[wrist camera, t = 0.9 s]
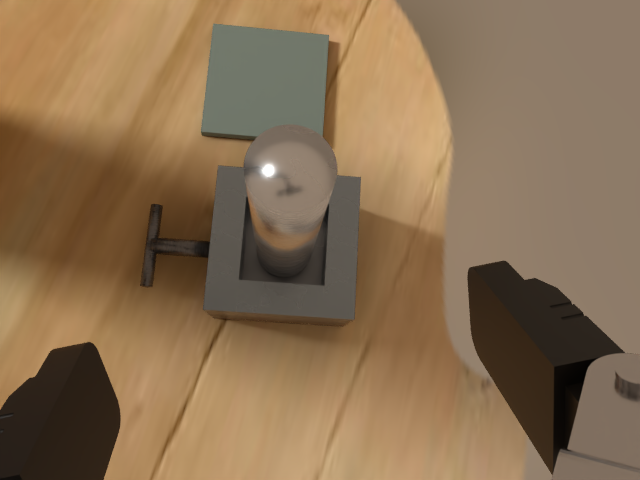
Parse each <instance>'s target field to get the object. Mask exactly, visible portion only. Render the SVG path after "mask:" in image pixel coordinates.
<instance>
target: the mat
mask: <svg viewBox="0 0 640 480" xmlns="http://www.w3.org/2000/svg"><path fill="white" fill-rule="evenodd" d="M328 43H329V35H323V34H313V33H303V32H293V31H282V30H272V29H262V28H252V27H242V26H232V25H222V24H213V32H212V40H211V49H210V58H209V66H208V75H207V84H206V93H205V101H204V110H203V119H202V127H201V133H202V135H204V136H216V137H227V138H239V139H251V140H255V139H256V138H257V137H258V136H259V135H260V134H261V133H263V132H264V131H266V130H268V129H270V128H273V127H275V126H279V125H286V124H293V125H300V126H304V127H307V128H309V129H312V130H313V131H315V132H317V133H318V134H320V135H321V136H322V137H323V124H324V108H325V91H326V75H327V59H328Z"/></svg>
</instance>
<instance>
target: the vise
mask: <svg viewBox="0 0 640 480" xmlns="http://www.w3.org/2000/svg"><path fill="white" fill-rule="evenodd" d="M360 183H361V177H351V176H339V175H337V178H336V181H335V185H334V188H333V191H332V194H331V197H330V200H329V203H328V206H327V209H326V212H325V215H324V218H323V221H322V224H321V227H320V230H319V233H318V236H317V239H316V242H315V245H314V248H313V251H312V254H311V257H310V260H309V262H308V264H307V266H306V267H305V268H304V269H303V270H302V271H301V272H299V273H298V274H296V275H293V276H290V277H278V276H275V275H272V274H271V273H269V272H267V271H266V270H265V269H264V268H263V267H262V265H261V264H260V262H259V260H258V256H257V251H256V244H255V238H254V232H253V226H252V220H251V213H250V207H249V201H248V195H247V189H246V182H245V176H244V168H242V167H230V166H218V172H217V182H216V191H215V201H214V210H213V220H212V229H211V239H210V241H197V240H183V239H169V238H159V232H160V224H161V216H162V208H163V206H161V205H158V204H152V205H151V208H150V216H149V223H148V231H147V238H146V246H145V253H144V261H143V269H142V276H141V284H140V286H142V287H153V279H154V271H155V263H156V255H157V254H162V255H176V256H190V257H204V258H208V267H207V277H206V286H205V295H204V305H203V310H204V311H205V312H207V313H208V314H209V315H211V316H212V317H213V318H219V319H234V320H250V321H265V322H280V323H296V324H311V325H327V326H344V325H346V324H348V323H349V322H351V321H353V320H354V319H355V297H356V274H357V251H358V229H359V206H360Z"/></svg>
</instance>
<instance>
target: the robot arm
mask: <svg viewBox="0 0 640 480" xmlns="http://www.w3.org/2000/svg"><path fill="white" fill-rule="evenodd" d="M468 292H469V308H470V324H471V334H472V339H473V343H474V346H475V349H476V351H477V354H478V356H479V358H480V360H481V362H482V363H483V365H484V366H485V368H486V370H487V371H488V373H489V374H490V376H491V377H492V379H493V381H494V382H495V384H496V386H497V387H498V389H499V390H500V392H501V394H502V395H503V397H504V398H505V400H506V402H507V403H508V405H509V406H510V408H511V410H512V411H513V413H514V414H515V416H516V418H517V419H518V421H519V422H520V424H521V426H522V427H523V429H524V430H525V432H526V434H527V435H528V437H529V439H530V440H531V442H532V443H533V445H534V447H535V448H536V450H537V451H538V453H539V454H540V456H541V458H542V459H543V461H544V463H545V464H546V466H547V467H548V469H549V471H550V472H551V474H552V475H553V476H552V480H640V355H639V354H631V353H625V352H623V350H622V349H620V348H619V347H618V346H617V345H616V344H615V343H614V342H613V341H612V340H611V339H610V338H609V337H608V336H607V335H606V334H605V333H604V332H603V331H602V330H601V329H599V328H598V327H597V326H596V325H595V324H594V323H593V322H592V321H591V320H590V319H589V318H588V317H587V316H584V315H583V312H582V311H581V310H580V309H578V308H577V307H576V306H575V305H574V304H573V305H572V303H571V301H570V300H569V299H568V298H567V297H566V296H565V295H564V294H563V293H562V292H561V291H560V290H559V289H558V288H556V287H554V286H552V285H549V284H547V283H545V282H543V281H540V280H538V279H536V278H534V279H528V280H524V279H523V278H522V277H521V276H520V275H519V274H518V273H517V272H516V271H515V270H514V269H513V268H512V267H511V265H509V263H507V262H506V261H500V262H495V263H489V264H485V265H479V266H475V267H471V268H469V270H468ZM119 429H120V408H119V403H118V400H117V397H116V395H115V392H114V390H113V387H112V385H111V382H110V380H109V377H108V375H107V372H106V370H105V367H104V365H103V362H102V360H101V357H100V355H99V352H98V350H97V348H96V347H95V345H94V344H93V343H91V342H87V343H82V344H77V345H72V346H67V347H62V348H57V349H53V350H52V351H50V353H49V354H48V356H47V358H46V359H45V361H44V363H43V365H42V366H41V368H40V370H39V371H38V373H37V375H36V376H35V377H33V378H29V379H28V380H27V381H26V382H24V383H23V384H22V385H21V386H20V387H19V388H18V389H17V390H16V391H15V392H13V393H12V394H11V395H10V396H9V397H8V399H7V400H6V402H5V403H4V405H3V407H2V408H1V410H0V480H103V479H104V476H105V473H106V470H107V467H108V464H109V461H110V458H111V454H112V451H113V448H114V445H115V442H116V439H117V436H118V433H119Z"/></svg>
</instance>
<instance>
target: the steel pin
mask: <svg viewBox="0 0 640 480" xmlns="http://www.w3.org/2000/svg"><path fill="white" fill-rule="evenodd" d="M244 176H245V182H246V189H247V195H248V201H249V207H250V213H251V220H252V226H253V232H254V238H255V244H256V251H257V256H258V260H259V262H260V264H261V265H262V267H263V268H264V269H265V270H266V271H267V272H269V273H271V274H272V275H275V276H278V277H290V276H293V275H296V274H298V273H299V272H301V271H302V270H303V269H304V268H305V267H306V266H307V264H308V262H309V260H310V257H311V254H312V251H313V248H314V245H315V242H316V239H317V236H318V233H319V230H320V227H321V224H322V221H323V218H324V215H325V212H326V209H327V206H328V203H329V200H330V197H331V194H332V191H333V188H334V185H335V181H336V178H337V162H336V158H335V154H334V152H333V150H332V148H331V146H330V145H329V143H328V142H327V141H326V140H325V139H324V138H323V137H322V136H321V135H320V134H318V133H317V132H315V131H313V130H312V129H309V128H307V127H304V126H300V125H293V124H286V125H279V126H275V127H273V128H270V129H268V130H266V131H264V132H263V133H261V134H260V135H259V136H258V137H257V138H256V139H255V140H254V141H253V142H252V144H251V145H250V147H249V148H248V151H247V153H246V156H245V160H244Z"/></svg>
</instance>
